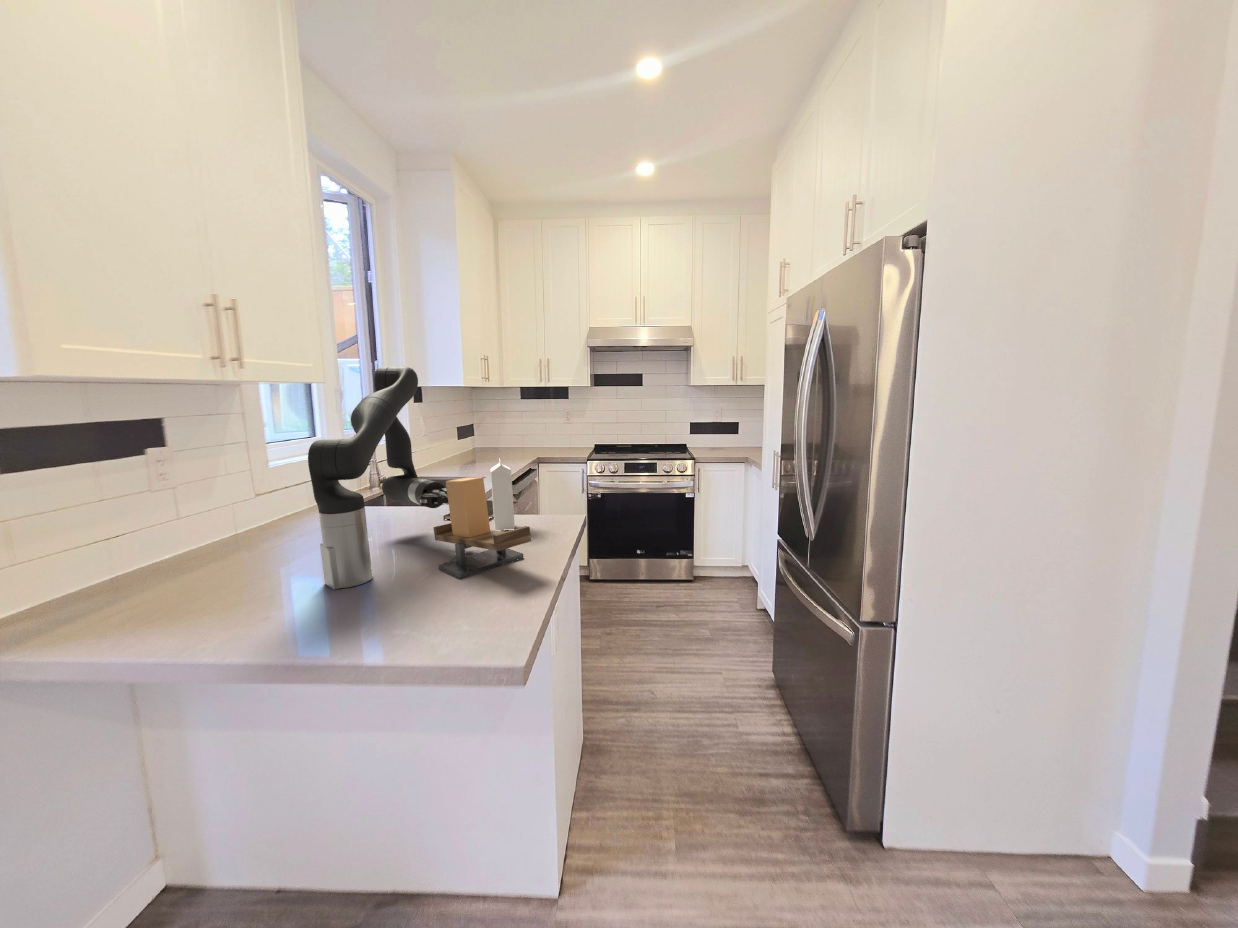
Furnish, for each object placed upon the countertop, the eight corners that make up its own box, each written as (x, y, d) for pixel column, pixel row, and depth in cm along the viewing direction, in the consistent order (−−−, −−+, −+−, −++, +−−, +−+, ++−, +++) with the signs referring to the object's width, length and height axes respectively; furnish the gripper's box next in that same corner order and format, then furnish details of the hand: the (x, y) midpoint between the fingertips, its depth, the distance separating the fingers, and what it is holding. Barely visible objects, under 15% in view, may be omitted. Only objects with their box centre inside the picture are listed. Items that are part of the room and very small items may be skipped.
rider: (469, 537, 122) (461, 481, 121) (453, 535, 127) (445, 481, 126) (490, 531, 126) (483, 477, 125) (473, 529, 132) (466, 477, 131)
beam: (531, 544, 117) (529, 526, 117) (499, 554, 111) (496, 535, 110) (466, 535, 138) (464, 519, 137) (435, 543, 131) (433, 527, 131)
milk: (495, 532, 153) (489, 461, 149) (494, 527, 158) (488, 458, 155) (515, 530, 154) (510, 459, 151) (513, 524, 160) (508, 457, 156)
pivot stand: (523, 558, 128) (521, 533, 127) (460, 579, 115) (457, 552, 114) (501, 550, 135) (499, 527, 134) (439, 569, 122) (436, 543, 121)
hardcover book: (518, 507, 186) (517, 501, 186) (485, 523, 164) (484, 517, 164) (480, 505, 191) (480, 499, 190) (443, 521, 169) (443, 515, 169)
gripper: (402, 483, 135) (433, 491, 124) (447, 476, 145) (480, 482, 133) (405, 510, 136) (436, 520, 125) (449, 501, 146) (482, 510, 134)
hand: (459, 501), depth 129 cm, fingers closed
